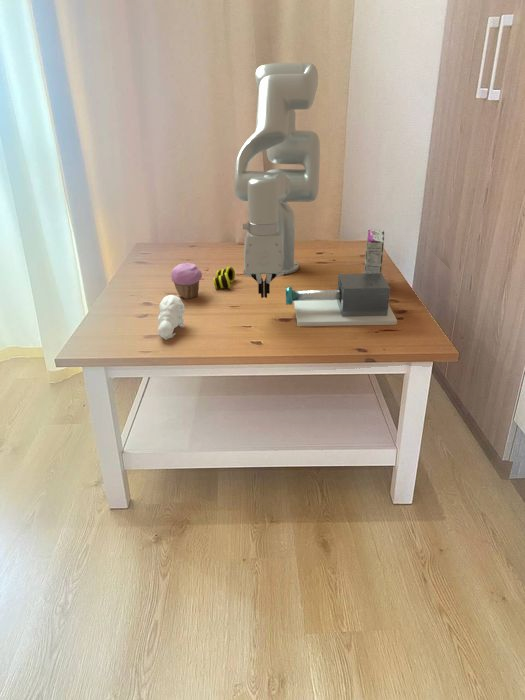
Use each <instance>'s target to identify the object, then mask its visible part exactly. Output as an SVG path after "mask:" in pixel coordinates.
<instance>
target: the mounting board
mask: <svg viewBox="0 0 525 700" xmlns="http://www.w3.org/2000/svg"><path fill="white" fill-rule="evenodd" d="M293 305H294V311H295V318H296V325H297V326H296V327H323V326H325V327H327V326H328V327H329V326H330V327H331V326H332V327H333V326H335V327H337V326H338V327H339V326H383V325H386V326H387V325H388V326H389V325H390V326H392V325H394V326H395V325H397V323H398V320H397V318H396V316H395V313H394V312H393V310H392V308H391V306H390V303H389V304H388V313H387V316H356V317H342V315H341V312H340V309H339V306H338V303H337V300H323V301H293Z"/></svg>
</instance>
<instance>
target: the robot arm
mask: <svg viewBox="0 0 525 700" xmlns="http://www.w3.org/2000/svg"><path fill="white" fill-rule="evenodd" d="M254 77H255V84H256V88H257V90H258V92H257V93H258V95H257V96H258V97H257V107H256V108H257V109H256V121H255V131H254V133H253V134H252V135H251V136H249V137H248V138H247V140H246V141H245V142H244V144H242V146H241V148H240V150H239V152H238V154H237V157H236V159H235V160H236V161H235V168H234V169H235V170H234V180H233V188H234V195H235V196H236V197H235V198H237V199H238V200H239V201H243V202H247V211H248V212H247V213H248V220H247V221H248V222H247V223H243V224H242V230H246V231H247V232H246V233H245V237H244V249H243V267H244V269H243V275H244V276H245V277H249V278H250V277H251V278H252V279H254V280H255V281H256V282H257V285H258V289H257V290H258V291H257V293H258V295H259V294H260V298H261V299H263V298H266V299H267V298H268V295H269V294H270V292H271V291H270V283H271V282H272V281H273V280H275V279H276V277H281V276H284V275H287V274H292V273H295V272H297V271H298V270H299V268H300V266H299V263H298V261H295V233H296V232H295V228H296V227H295V225H296V217H295V216H296V215H295V212H294V210H293V208H292V207H291V205H290V204H289V203H290V202H291V203H292V202H293V203H295V202H296V203H300V202H301V203H306V202H307V203H311V202H314V201H315V200H316V199H317V198H318V194H319V189H320V188H319V187H320V164H321V163H320V161H321V160H320V159H321V144H320V138H319V135H318V134H317V133H316V132H315V131H312V130H297V129H296V115H297V113H296V110H309V109H311V108H312V106H313V105H314V102H315V99H316V94H317V90H318V86H319V85H318V84H319V74H318V69H317V67H316V65H314V63H311V62H275V63H266V64H261V65H260V66H258V67H257V68H256V71H255V76H254ZM264 151H266V156H267V159H268V161H269V162H270V163H272V164H276V165H302V166H303V167H304V168H303V169H297V168H296V169H295V168H274V169H269V170H267V171H266V170H262V171H261V170H248V166H249V163H250V162H251V161H252V160H253V159H254V158H255V157H256V156H257V155H259V154H260V153H262V152H264ZM262 275H266V276H265V279H263V277H262Z"/></svg>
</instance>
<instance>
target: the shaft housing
mask: <svg viewBox="0 0 525 700" xmlns="http://www.w3.org/2000/svg"><path fill="white" fill-rule="evenodd" d="M337 275H338V276H337V290H341V291H342V294H341V300H337V303H338V306H339V309H340V312H341V315H342V317H356V316H387V313H388V304H389V305H390V303H389V302H390V295H391V287H390V285H389V284H388V282H387V280H386V278H385V275H384V274H383V273H382V272H381V273H375V274H364V273H338V274H337Z"/></svg>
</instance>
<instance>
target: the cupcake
mask: <svg viewBox="0 0 525 700" xmlns="http://www.w3.org/2000/svg"><path fill="white" fill-rule="evenodd" d="M202 277H203V273H202V271H201V270H200V269H199V268H198V266H197V265H196V264H194V263H192V262H191V263H189V262H188V263H186V262H185V263H179V264H178V265H176V266H175V267H173V269H172V271H171V276H170V278H171V279H170V280H171V282H172V283H174V287H175V290H176V292H177V294H178V295H179V296H180V297H181V298H184V299H185V300H187V299H192V298H195V297H198V295H199V291H200V289H199V288H200V281H201V280H202ZM179 296H178V297H179Z"/></svg>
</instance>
